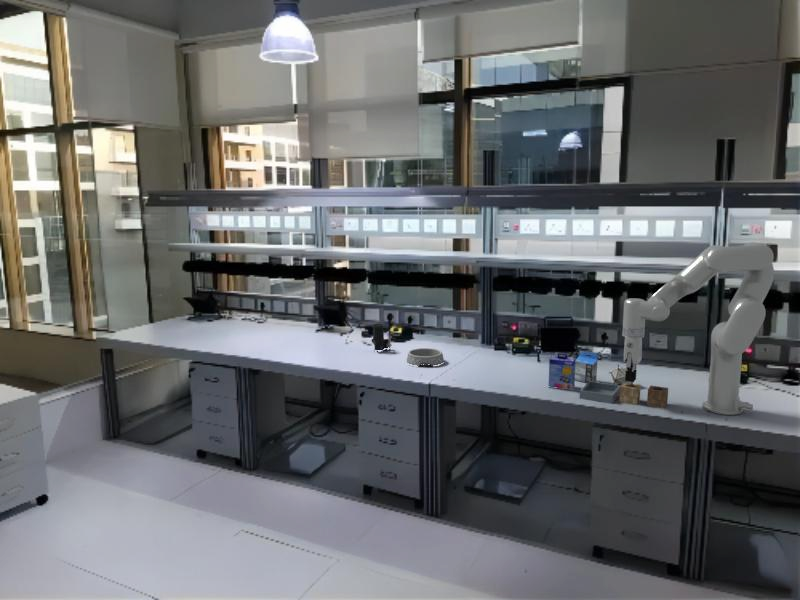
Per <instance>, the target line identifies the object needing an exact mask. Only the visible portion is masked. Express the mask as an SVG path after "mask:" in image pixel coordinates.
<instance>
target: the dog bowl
mask: <svg viewBox="0 0 800 600" xmlns="http://www.w3.org/2000/svg"><path fill="white" fill-rule="evenodd" d="M406 361H407V363H409V364H412V365H417V366H429V365H428V364H431V365H430V366H432V365H438V364H441V363H443V362H445V359H444V354H443V351H441V350H440V349H437V348H429V347H427V348H426V347H424V348H415V349H411V350H409V351H408V352H407V356H406ZM420 364H422V365H420ZM423 364H424V365H423Z"/></svg>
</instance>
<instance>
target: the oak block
mask: <svg viewBox="0 0 800 600" xmlns="http://www.w3.org/2000/svg"><path fill="white" fill-rule="evenodd" d="M620 386H621V387H620V394H619V403H623V404H628V405H636V406H637V405H638V404H639V402H640V401H641V384H638V383H637V384H636V383H633V387H627V383H623V384H622V385H620Z"/></svg>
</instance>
